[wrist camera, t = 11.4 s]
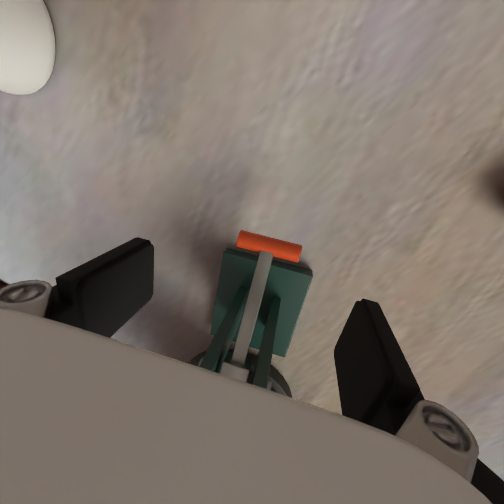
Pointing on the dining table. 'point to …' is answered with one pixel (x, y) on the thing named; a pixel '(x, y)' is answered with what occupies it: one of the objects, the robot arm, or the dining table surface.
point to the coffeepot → (25, 46)
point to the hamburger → (2, 284)
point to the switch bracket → (269, 316)
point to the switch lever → (255, 297)
